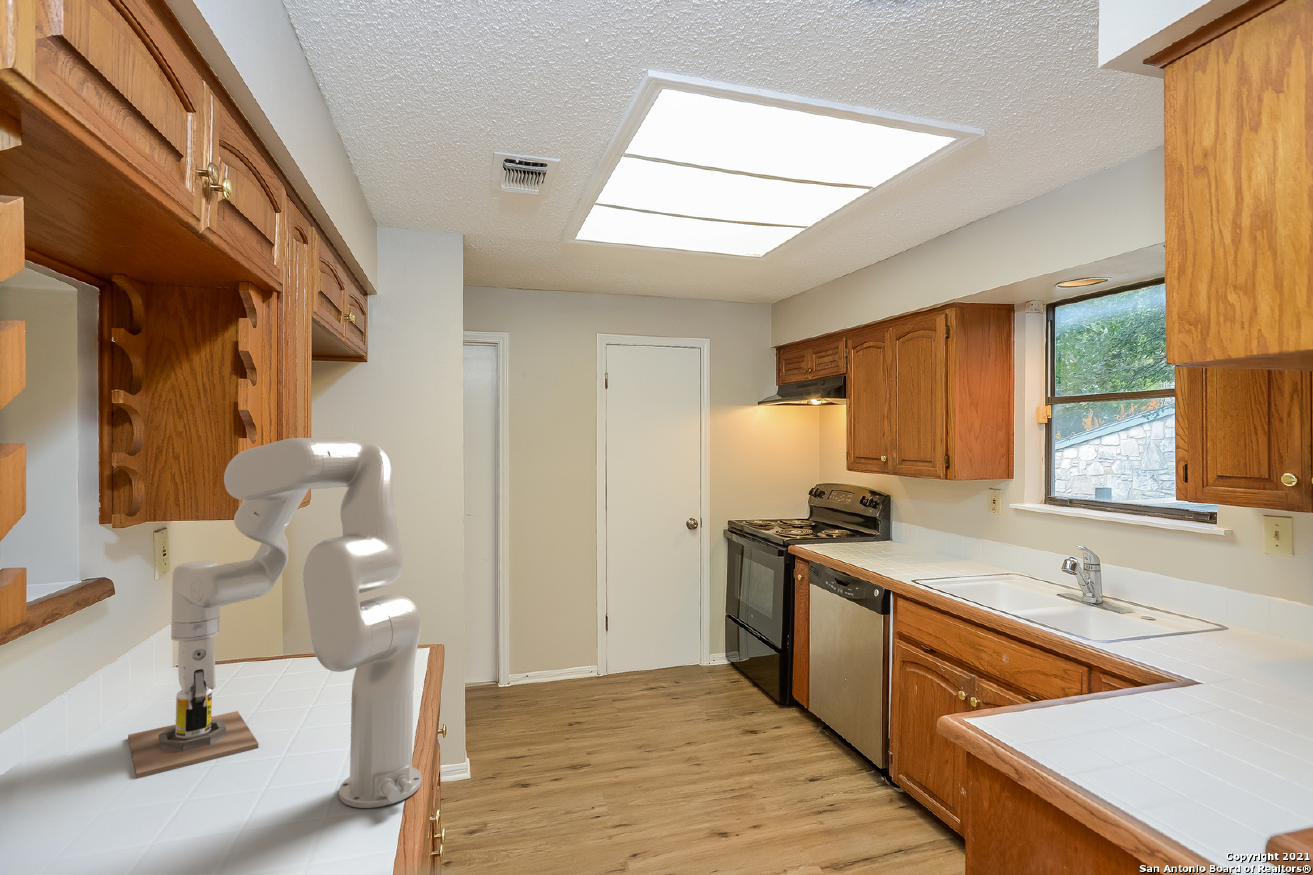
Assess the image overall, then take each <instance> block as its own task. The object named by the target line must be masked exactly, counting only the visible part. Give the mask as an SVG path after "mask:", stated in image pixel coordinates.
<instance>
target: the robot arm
mask: <svg viewBox="0 0 1313 875" xmlns="http://www.w3.org/2000/svg"><path fill="white" fill-rule="evenodd" d="M223 475H224V476H223V483H224V487H225V490H226V492H227V493H228V494H229V495H230V496H231V497H233V498H234V499H236V500H240V501H242V502H241V504H240V506H239V507H238V509H237V510H236V512H235V514H234V517H233V523H234V526H235V527H236V529H237V530H238V531H239V533H241V534H242V535H244V536H245V537H247V538H248V539H250V540H253V541H255V542H258V543H260V545H259V547H258V548H257V551H256V553H255V554H254V555H253V556H252V558H251V559H248V560H241V561H235V562H234V561H233V562H229V563H223V564H218V563H217V562H215V561H210V560H209V561H208V560H207V561H206V560H205V561H204V560H201V561H200V560H199V561H190V562H184V563H180V564H178V565H177V566H175V567H174V569H173V571H172V582H171V583H172V585H171V587H172V588H171V592H172V593H171V626H170V627H171V629H170V630H171V631H170V638H171V641H176V642H178V645H177V646H178V651H177V669H178V670H177V671H178V672H177V674H178V675H177V676H178V682H179V685H180V688H181V690H183V692H184V693H185V694H187V695H188V709H187V710H186V731H187V732H190V731H194V730H199V729H203V728H206V726H207V704H206V685H207V687H208V689H211V690H212V691H213V690H214V689H215V688H216V653H215V650H216V649H215V640H214V637H216V636H218V635H219V634H220V615H221V611H220V610H221V607H223V606H228V605H232V604H236V603H240V602H246V601H250V600H253V599H258V598H261V597H263V596H265V595H266V594H267V593H269V592H270V591H271V590H272V589H273V587H275V585H276V584H277V582H278V581H279V579H280V577H281V576H282V574H283V572H284V571H285V569H286V566H287V565H288V561H289V556H290V555H289V551H290V550H289V541H288V538H287V535H286V533H285V531H286V529H287V528H288V527H289V524H290V523H291V521H292V519H293V517H294V515H295V514H296V512H297V510H298V509H299V507H300V505H301V504H302V502H303V500H304V499H305V497H306V496H307V494H308V492H309V490H317V489H331V488H347V489H346V491H345V494H344V495H343V499H342V500H341V505H340V520H341V528H342V535H341V536H336V537H332V538H331V537H330V538H327V539H325V540H322V541H320V542H318V543H317V544H316V545H315V546H314V547H312V549H310V551H309V553H308V555H307V557H306V558H305V563H304V566H303V573H302V574H303V589H304V595H305V604H306V610H307V617H308V618H307V619H308V626H309V633H310V634H309V635H310V639H311V644H312V649H313V653H314V655H315V657H316V659H317V661H318V663H319V664H321V665H322V667H323V668H325V669H326V670H329V671H330V672H334V673H335V672H337V673H340V672H346V671H347V672H348V671H350V670H353V669H355V671H354V676H353V679H352V684H351V710H350V711H351V712H350V714H351V716H350V757H349V758H350V760H349V776H348V777H347V778H345V780H343V782H342V783H340V786H339V789H338V798H339V799H340V802H342V803H343V804H345V805H347V806H349V807H353V808H360V809H373V808H379V807H386V806H390V805H393V804H396V803H398V802H402V801H403V800H405V799H407V798H409V797H410V796H413V795H414V794H415V793H416V792H417V791H418V790H419V789H420V787H421V784H422V776H423V775H422V773H421V771H420V770H419V769H417V768H416V767H415V766H413V735H414V734H413V731H414V730H413V729H414V726H413V725H414V724H413V723H414V690H415V687H414V686H415V668H416V667H415V665H416V656H417V651H418V646H419V641H420V637H421V629H422V617H421V613H420V610H419V607H418V606H417V605H416V604H415V602H414V601H413V600H411V599H410V598H409V597H406V596H405V595H401V594H386V595H383V596H382V595H381V596H376V597H374V598H369V599H367V600H363V601H360V594H364V593H367V592H370V591H374V590H378V589H382V588H384V587H387V586H390V585H391V584H394V583H395V582H396V581H398V580H399V579H400V577H401V574H402V572H403V566H404V565H403V564H404V563H403V562H404V560H403V552H402V547H401V545H402V544H401V539H400V532H399V524H398V520H397V519H398V518H397V513H396V508H395V501H394V500H395V499H394V474H393V467H392V464H391V460H390V457H389V456H388V454H387V453H386V452H385V450H383V449H382V448H381V447H380V446H379V445H377V444H375V443H373V442H370V441H366V440H363V439H355V438H340V437H339V438H338V437H330V438H329V437H325V438H323V437H292V438H286V439H281V440H277V441H274V442H269V443H267V444H264V445H260V446H256V447H252V448H248V449H245V450H243V451H241V452H239V453H238V454H236V455H234V456H233V458H232V459H231V460H230V461H229V462H228V464H227V466H226V468H225V470H224V474H223ZM193 688H195V691H193V692H191V689H193ZM192 695H195V697H193V699H192Z"/></svg>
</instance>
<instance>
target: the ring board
mask: <svg viewBox="0 0 1313 875" xmlns="http://www.w3.org/2000/svg"><path fill="white" fill-rule="evenodd" d="M128 740H129V741H128ZM127 741H128V745H130V746H129V750H130V749H131V750H130V754H132V755H131V758H132V759H133V760H132V764H133V768H134V774H135V778H136V779H139V778H144V777H147V776H152V775H155V774H159V773H163V772H167V771H171V770H175V769H176V770H177V769H179V768H184V767H187V766H191V765H194V764H199V763H203V762H207V761H210V760H215V759H218V758H223V757H227V756H231V755H235V754H239V753H243V752H246V751H250V750H254V749H258V748H259V741H258V740H257V738H256V737H255V736H254V734H253V732H252V731H251V729H250V728H249V726H248V725H247V723H246V722H245V720H244V719H243V717H242V715H241V714H240V712H239V711H238V710H236V711H232V712H226V713H222V714H218V715H217V714H216V715H213V716H212V715H211V729H210V731H209V732H208V733H206V734H205V735H202V736H200V737H196V738H191V739H180V738H178V737H176V723H175V724H171V725H166V726H162V727H158V728H153V729H152V728H151V729H149V730H144V731H140V732H139V731H138V732H134V733H129V734H128V735H127Z"/></svg>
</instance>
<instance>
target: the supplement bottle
mask: <svg viewBox="0 0 1313 875" xmlns="http://www.w3.org/2000/svg"><path fill="white" fill-rule="evenodd" d="M193 691H195V688H193V689H191V692H193ZM175 697H176V698H175V700H176V701H175V724H176V737H178V738H180V739H191V738H196V737H200V736H202V735H205V734H206V733H208V732H209V731H210V729H211V717H212V707H213V706H212V704H213V703H212V702H213V700H212V698H213V690H211V689H208V687H207V685H206V704H207V726H206V728H203V729H199V730H194V731H190V732H187V731H186V710H187V709H188V695H187V694H185V693H184V692H183V690H182V689H181V690H179V692H177V693H176V696H175ZM193 697H195V695H192V699H193Z"/></svg>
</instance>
